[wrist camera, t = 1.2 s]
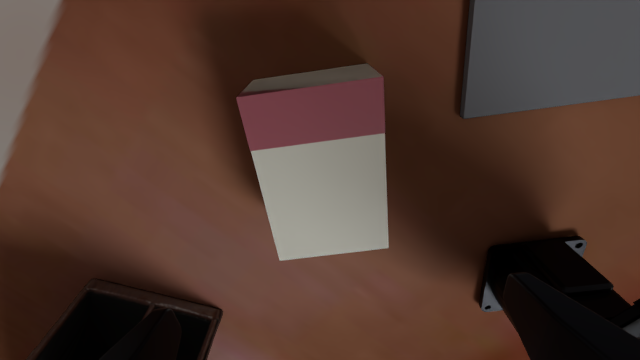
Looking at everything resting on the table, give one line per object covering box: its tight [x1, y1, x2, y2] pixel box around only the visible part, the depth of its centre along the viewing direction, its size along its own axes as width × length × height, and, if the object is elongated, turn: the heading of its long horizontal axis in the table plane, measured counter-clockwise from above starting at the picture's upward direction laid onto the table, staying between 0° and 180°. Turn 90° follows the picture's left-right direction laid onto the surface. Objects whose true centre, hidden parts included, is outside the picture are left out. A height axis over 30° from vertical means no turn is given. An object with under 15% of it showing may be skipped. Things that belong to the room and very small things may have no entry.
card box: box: [236, 63, 389, 261], centre depth 16 cm, size 9×6×4 cm, turn 8°
